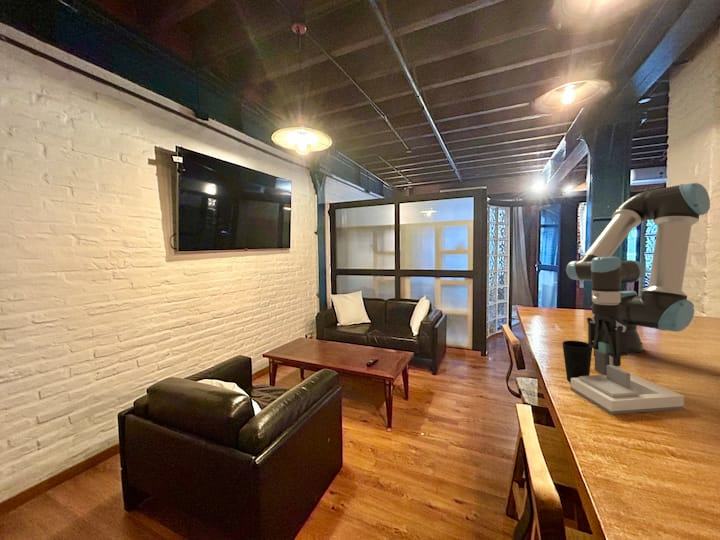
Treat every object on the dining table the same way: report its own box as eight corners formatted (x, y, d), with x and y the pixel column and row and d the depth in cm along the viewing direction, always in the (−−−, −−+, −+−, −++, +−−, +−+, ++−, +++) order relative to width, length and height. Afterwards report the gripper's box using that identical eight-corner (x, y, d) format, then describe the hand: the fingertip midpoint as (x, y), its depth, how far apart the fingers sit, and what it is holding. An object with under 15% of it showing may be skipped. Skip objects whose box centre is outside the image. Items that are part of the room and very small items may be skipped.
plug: (608, 369, 102) (608, 335, 101) (619, 373, 98) (619, 338, 97) (594, 370, 101) (594, 335, 101) (604, 374, 97) (604, 339, 97)
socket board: (632, 385, 89) (632, 373, 89) (683, 409, 75) (683, 395, 75) (570, 389, 89) (570, 378, 89) (611, 414, 75) (611, 400, 75)
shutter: (603, 377, 88) (602, 361, 87) (639, 395, 76) (639, 377, 76) (579, 378, 87) (579, 363, 87) (612, 397, 76) (612, 379, 76)
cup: (594, 388, 89) (593, 349, 88) (563, 383, 93) (563, 346, 92) (591, 378, 95) (590, 342, 95) (562, 374, 99) (561, 339, 99)
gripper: (574, 299, 107) (575, 362, 108) (619, 308, 89) (620, 383, 90) (594, 298, 107) (595, 360, 109) (643, 307, 89) (644, 382, 91)
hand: (606, 371), depth 99 cm, fingers open, 5 cm apart
